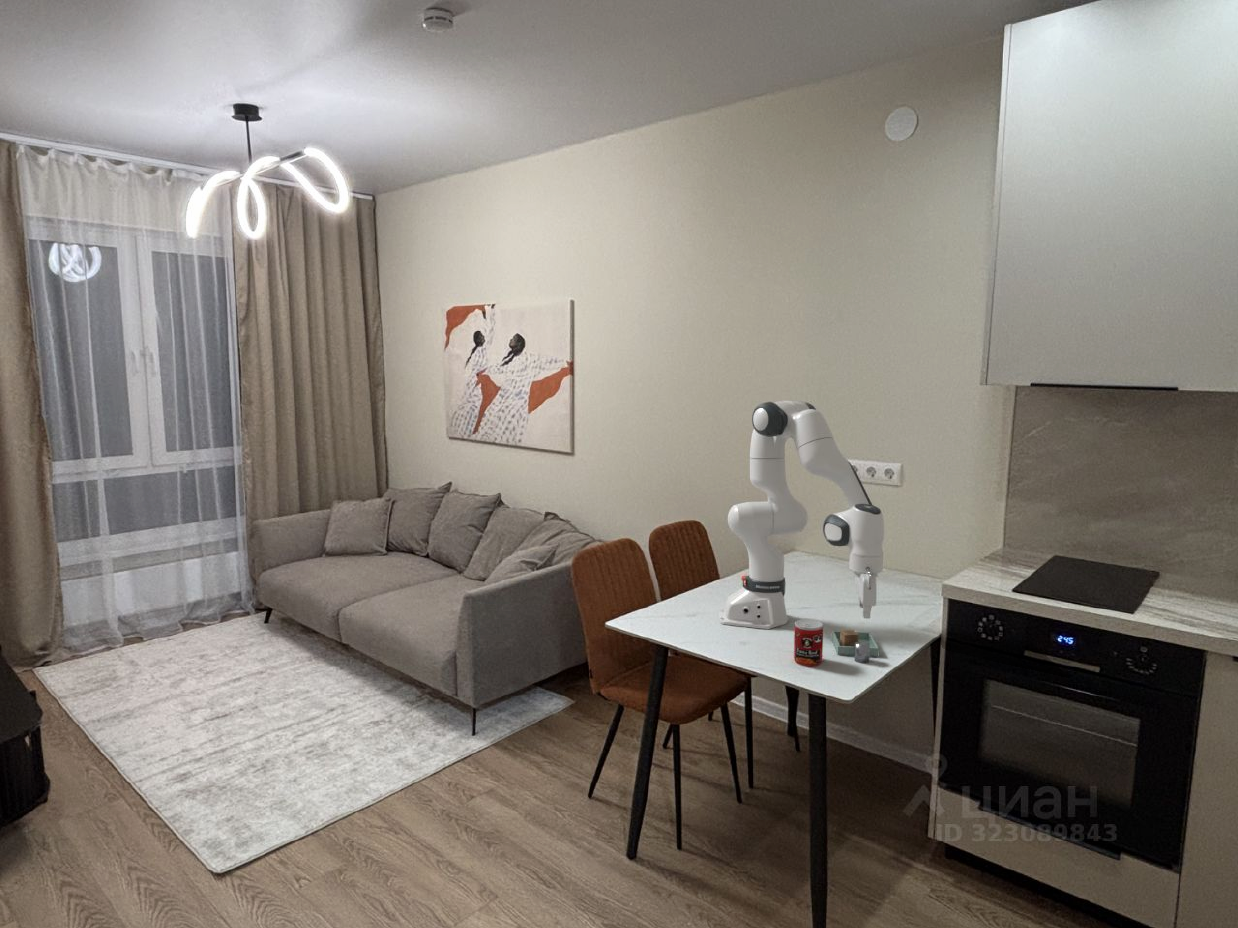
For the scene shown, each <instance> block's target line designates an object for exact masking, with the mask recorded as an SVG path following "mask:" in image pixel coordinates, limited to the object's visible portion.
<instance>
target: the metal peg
mask: <svg viewBox="0 0 1238 928" xmlns="http://www.w3.org/2000/svg"><path fill="white" fill-rule="evenodd" d="M853 658H854V659H853V660H854V662H855V663H857V664H862V665H863V664H869V663H870V659H871V657H870V643H868V642H865V641H857V642H855V656H854V657H853Z"/></svg>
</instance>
